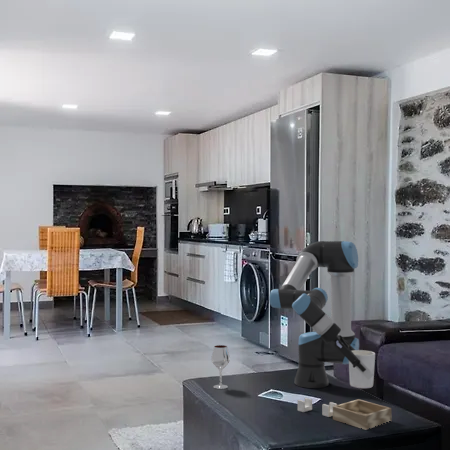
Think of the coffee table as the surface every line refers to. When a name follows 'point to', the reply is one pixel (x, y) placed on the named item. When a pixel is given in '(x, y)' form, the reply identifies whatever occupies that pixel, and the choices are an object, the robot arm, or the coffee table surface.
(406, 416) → the coffee table surface
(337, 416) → the square wooden tray
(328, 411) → the clips
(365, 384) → the candle holder
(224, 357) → the wineglass
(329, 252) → the robot arm
